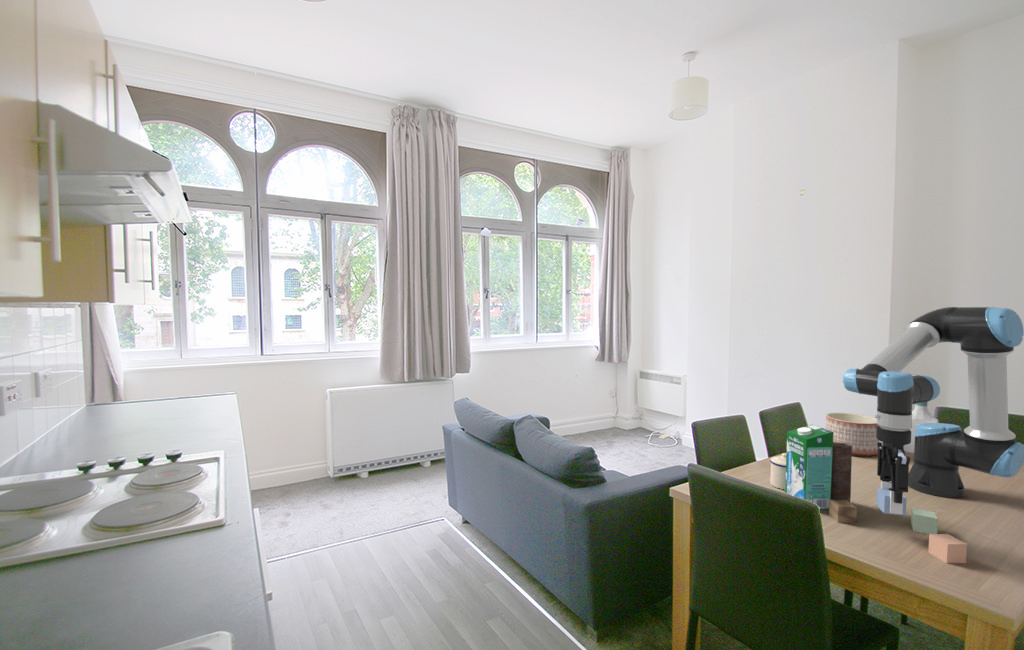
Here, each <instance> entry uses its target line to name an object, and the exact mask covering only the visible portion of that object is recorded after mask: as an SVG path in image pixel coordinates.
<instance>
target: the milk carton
mask: <svg viewBox="0 0 1024 650" xmlns="http://www.w3.org/2000/svg"><path fill="white" fill-rule="evenodd" d="M786 454H787V455H786V484H785V490H784V491H785V492H784V494H785V493H787V494H790V495H792V496H795V497H799V498H802V499H805V500H807V501H810V502H812V503H815V504H817V505H818V506H819V507H820V509H819V510H829V500H830V499H831V482H832V456H833V432H832V431H829V430H826V428H823V427H821V426H818V425H815V424H809V425H805V426H801V427H799V428H796V429H795V428H794V429H792V430H788V431H787V432H786Z"/></svg>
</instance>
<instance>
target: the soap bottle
mask: <svg viewBox="0 0 1024 650" xmlns="http://www.w3.org/2000/svg"><path fill="white" fill-rule="evenodd" d="M923 423H939V419H937V418H935V416H933V415H932V413H930V411H929V408H928V402H924V403H916V404H914V409H913V410H912V428H911V429H909V430H910V431H911V443H910V444H907V445H904V446H903V447H904V451H906V452H905V453H910V454H911V453H912V454H914V445H915V437H914V435H915V431H916V427H917V425H919V424H923Z"/></svg>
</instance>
